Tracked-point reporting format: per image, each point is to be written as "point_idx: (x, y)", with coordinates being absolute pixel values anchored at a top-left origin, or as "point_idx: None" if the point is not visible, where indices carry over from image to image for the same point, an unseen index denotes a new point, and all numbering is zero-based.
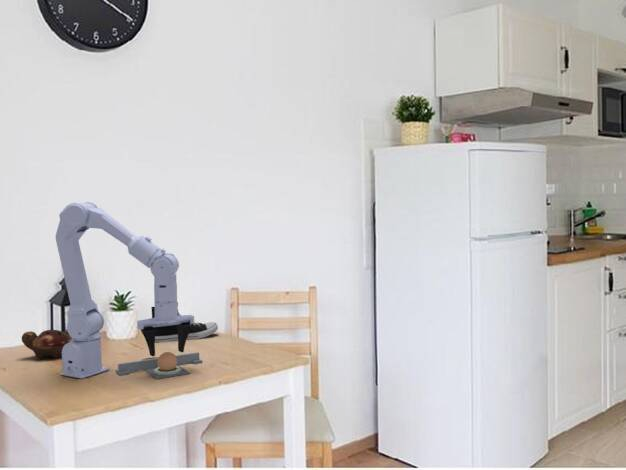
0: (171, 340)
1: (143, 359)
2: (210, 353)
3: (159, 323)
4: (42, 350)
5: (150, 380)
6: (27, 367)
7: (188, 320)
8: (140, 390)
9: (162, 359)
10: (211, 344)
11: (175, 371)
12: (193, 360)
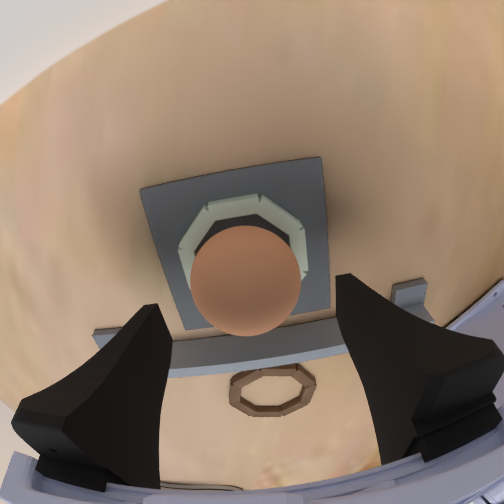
0: (194, 485)
1: (298, 407)
2: None
3: (399, 489)
4: None
5: (347, 154)
6: None
7: (49, 489)
8: (409, 30)
9: (283, 262)
10: None
11: (212, 204)
12: None
